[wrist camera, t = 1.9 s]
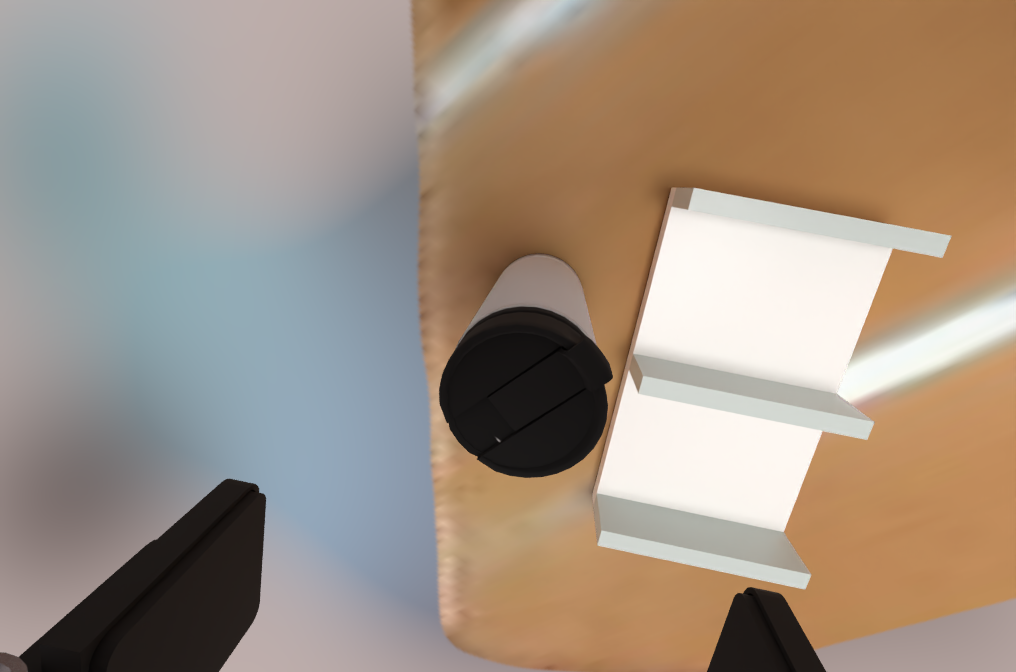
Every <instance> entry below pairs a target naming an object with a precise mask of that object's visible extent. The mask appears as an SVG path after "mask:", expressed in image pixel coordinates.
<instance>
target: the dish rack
mask: <svg viewBox="0 0 1016 672" xmlns="http://www.w3.org/2000/svg"><path fill="white" fill-rule="evenodd" d="M950 238H951V236H950V235H944V234H939V233H934V232H928V231H923V230H918V229H912V228H907V227H901V226H896V225H891V224H885V223H880V222H875V221H869V220H864V219H859V218H853V217H848V216H842V215H837V214H832V213H826V212H821V211H816V210H810V209H805V208H800V207H794V206H789V205H783V204H778V203H773V202H767V201H762V200H757V199H751V198H746V197H741V196H735V195H730V194H724V193H719V192H714V191H708V190H703V189H698V188H675V187H672V188H671V192H670V196H669V199H668V203H667V207H666V211H665V215H664V219H663V223H662V227H661V230H660V234H659V238H658V242H657V246H656V250H655V254H654V258H653V261H652V265H651V269H650V273H649V277H648V281H647V285H646V288H645V292H644V296H643V300H642V304H641V308H640V312H639V316H638V319H637V323H636V327H635V331H634V335H633V339H632V343H631V347H630V350H629V354H628V358H627V362H626V366H625V370H624V374H623V378H622V381H621V385H620V389H619V393H618V397H617V401H616V405H615V408H614V412H613V416H612V420H611V424H610V428H609V432H608V436H607V439H606V443H605V447H604V451H603V455H602V459H601V463H600V467H599V470H598V474H597V478H596V482H595V486H594V490H593V494H592V501H593V510H594V519H595V528H596V537H597V545H598V546H603V547H607V548H612V549H617V550H621V551H626V552H631V553H636V554H640V555H645V556H650V557H654V558H659V559H664V560H669V561H673V562H678V563H683V564H688V565H692V566H697V567H702V568H706V569H711V570H716V571H721V572H725V573H730V574H735V575H739V576H744V577H749V578H754V579H758V580H763V581H768V582H772V583H777V584H782V585H787V586H791V587H796V588H801V589H806V586H807V584H808V582H809V579H810V577H811V573H810V572H809V570H808V569H807V567H806V566H805V564H804V563H803V561H802V560H801V558H800V557H799V555H798V554H797V552H796V550H795V549H794V547H793V546H792V544H791V543H790V541H789V540H788V538H787V537H786V535H785V534H784V530H785V527H786V524H787V522H788V519H789V517H790V514H791V511H792V509H793V506H794V504H795V501H796V499H797V496H798V493H799V491H800V488H801V486H802V483H803V480H804V478H805V475H806V473H807V470H808V467H809V465H810V462H811V460H812V457H813V454H814V452H815V449H816V447H817V444H818V441H819V439H820V436H821V434H822V431H826V432H831V433H836V434H841V435H846V436H851V437H856V438H861V439H866V440H867V439H868V436H869V434H870V432H871V429H872V427H873V424H874V421H872V420H871V419H870V418H868V417H867V416H866V415H864V414H863V413H862V412H860V411H859V410H858V409H856V408H855V407H854V406H852V405H851V404H850V403H848V402H847V401H846V400H844V399H843V398H842V397H840V396H839V395H838V394H837V392H838V389H839V387H840V384H841V382H842V379H843V376H844V374H845V371H846V369H847V366H848V363H849V361H850V358H851V356H852V353H853V350H854V348H855V345H856V343H857V340H858V337H859V335H860V332H861V330H862V327H863V324H864V322H865V319H866V317H867V314H868V312H869V309H870V306H871V304H872V301H873V299H874V296H875V293H876V291H877V288H878V286H879V283H880V280H881V278H882V275H883V273H884V270H885V267H886V265H887V262H888V260H889V257H890V254H891V252H892V249H899V250H904V251H909V252H915V253H920V254H925V255H931V256H936V257H941V258H943V255H944V253H945V250H946V248H947V245H948V243H949V241H950Z"/></svg>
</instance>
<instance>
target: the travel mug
mask: <svg viewBox="0 0 1016 672" xmlns="http://www.w3.org/2000/svg"><path fill="white" fill-rule="evenodd" d="M612 378H613V375H612V371H611V368H610V364H609V362H608V361H607V359H606V358H605V356H604V355H603V353H602V352H601V350H600V349H599V348H598V347H597V345H596V341H595V337H594V333H593V329H592V324H591V320H590V316H589V312H588V308H587V304H586V300H585V296H584V292H583V288H582V285H581V282H580V279H579V277H578V276H577V274H576V272H575V271H574V270H573V269H572V268H571V267H570V265H568V264H567V263H566V262H564V261H563V260H561V259H559V258H557V257H555V256H551V255H547V254H531V255H526V256H524V257H521V258H519V259H517V260H515V261H514V262H512V263H511V264H510V265H509V266H508V267H507V268H506V269H505V270H504V271H503V273H502V274H501V275H500V277H499V279H498V280H497V282H496V283H495V285H494V287H493V288H492V290H491V291H490V293H489V294H488V296H487V298H486V299H485V301H484V302H483V304H482V305H481V307H480V309H479V310H478V312H477V313H476V315H475V317H474V318H473V320H472V321H471V323H470V324H469V326H468V328H467V329H466V331H465V332H464V334H463V336H462V337H461V339H460V340H459V342H458V344H457V347H456V349H455V351H454V353H453V354H452V356H451V357H450V359H449V361H448V363H447V365H446V367H445V369H444V372H443V374H442V378H441V383H440V388H439V400H440V406H441V409H442V411H443V414H444V416H445V419H446V422H447V423H448V422H449V427H450V430H451V432H452V433H453V434H454V436H455V437H456V439H457V440H458V442H459V443H460V444H461V445H462V446H463V447H464V448H465V449H466V450H467V451H468V452H469V453H471V454H473V455H475V456H477V457H478V458H477V460H479V461H480V462H482V463H483V464H485V465H486V466H488V467H490V468H491V469H493V470H494V471H496V472H500V473H503V474H506V475H510V476H516V477H524V478H531V477H544V476H548V475H553V474H557V473H559V472H562V471H564V470H566V469H569V468H571V467H572V466H574V465H575V464H577V463H578V462H580V461H581V460H583V459H584V458H585V457H586V456H587V455H588V454H589V453H590V452H591V451H592V450H593V449H594V447H595V445H596V444H597V442H598V440H599V439H600V437H601V435H602V433H603V430H604V427H605V424H606V419H607V410H608V403H607V395H606V390H605V385H604V384H606V383H607V382H609V381H610V380H611V379H612Z"/></svg>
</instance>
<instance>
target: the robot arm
mask: <svg viewBox="0 0 1016 672" xmlns="http://www.w3.org/2000/svg"><path fill="white" fill-rule="evenodd" d="M265 508H266V497H265V495H264V494H262V493H259V488H258V486H257V485H256V484H253V483H247V482H243V481H238V480H233V479H226V480H224V481H223V482H221V484H219V485H218V486H217V487H216V488H215V489H214V490H212V491H211V492H210V493H209V494H208V495H207V496H206V497H204V498H203V499H202V500H201V501H200V502H199V503H198V504H197V505H195V506H194V507H193V508H192V509H191V510H190V511H189V512H188V513H186V514H185V515H184V516H183V517H182V518H181V519H180V520H178V521H177V522H176V523H175V524H174V525H173V526H172V527H171V528H170V529H168V530H167V531H166V532H165V533H164V534H163V535H162V536H160V537H159V538H158V539H157V540H153V541H152V542H150V543H149V544H148V545H146V546H145V547H144V548H143V549H141V550H140V551H139V552H138V553H137V554H136V555H134V556H133V557H132V558H131V559H130V560H129V561H128V562H126V563H125V565H123V566H122V567H121V568H120V569H119V570H117V571H116V572H115V573H114V574H113V575H112V576H111V577H109V578H108V579H107V580H106V581H105V582H104V583H103V584H101V585H100V586H99V587H98V588H97V589H96V590H95V591H93V592H92V593H91V594H90V595H89V596H88V597H87V598H86V599H84V600H83V601H82V602H81V603H80V604H79V605H77V606H76V607H75V608H74V609H73V610H72V611H71V612H69V614H67V615H66V616H65V617H64V618H63V619H61V620H60V621H59V622H58V623H57V624H56V625H55V626H54V627H52V628H51V629H50V630H49V631H48V632H47V633H46V634H44V636H42V637H41V638H40V639H39V640H38V641H36V642H35V643H34V644H33V645H32V646H31V647H29V648H28V649H27V650H26V651H25V652H24V653H23V654H21V655H20V656H19V657H17V656H14V655H11V654H8V653H2V652H0V672H219V671H220V669H221V668H222V666H223V665H224V663H225V662H226V661H227V659H228V658H229V656H230V655H231V653H232V652H233V650H234V649H235V648H236V646H237V645H238V643H239V642H240V640H241V639H242V637H243V636H244V635H245V633H246V632H247V630H248V629H249V627H250V626H251V624H252V623H253V621H254V619H255V617H256V614H257V612H258V608H259V603H260V588H261V573H262V572H261V571H262V556H263V541H264V524H265ZM707 672H826V671H825V669H824V667H823V665H822V664H821V662H820V660H819V658H818V656H817V655H816V653H815V651H814V649H813V647H812V646H811V644H810V642H809V640H808V639H807V637H806V635H805V633H804V632H803V630H802V628H801V626H800V625H799V623H798V621H797V619H796V617H795V616H794V614H793V612H792V610H791V609H790V607H789V605H788V603H787V602H786V600H785V598H784V597H783V596H782V595H781V594H779V593H776V592H771V591H767V590H762V589H757V588H752V587H749V588H747V589H746V590H745V591H744V593H743V594H742V593H737V594H736V595H735V597H734V599H733V602H732V605H731V607H730V610H729V613H728V616H727V618H726V621H725V624H724V627H723V629H722V632H721V635H720V638H719V640H718V643H717V646H716V649H715V651H714V654H713V657H712V660H711V662H710V665H709V668H708V671H707Z"/></svg>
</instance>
